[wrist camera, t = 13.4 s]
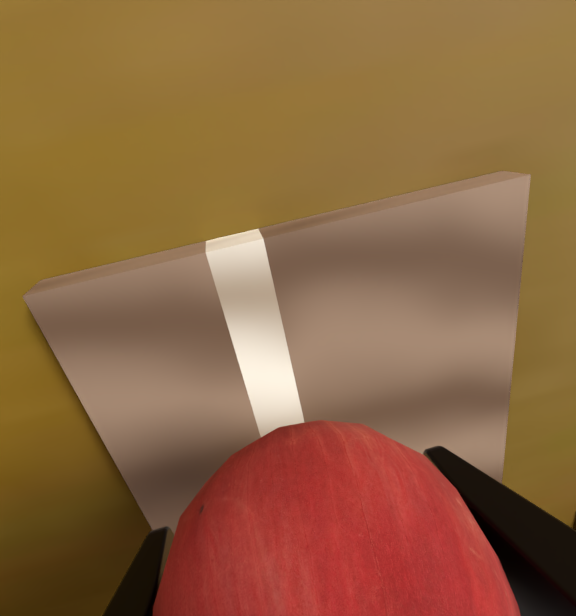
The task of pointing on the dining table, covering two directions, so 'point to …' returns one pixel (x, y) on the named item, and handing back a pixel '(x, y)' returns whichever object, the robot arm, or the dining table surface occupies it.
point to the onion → (330, 534)
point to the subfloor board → (300, 335)
